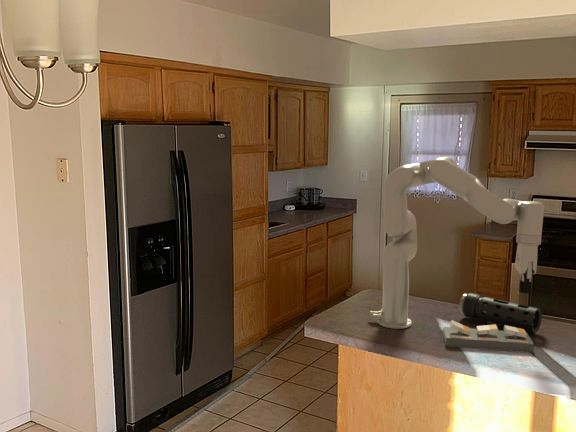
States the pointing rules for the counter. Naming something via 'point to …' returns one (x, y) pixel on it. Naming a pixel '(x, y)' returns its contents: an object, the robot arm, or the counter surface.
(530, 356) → the counter surface
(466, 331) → the switch left
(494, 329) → the switch middle
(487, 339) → the switch unit
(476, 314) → the muzzle brake
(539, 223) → the robot arm
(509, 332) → the switch right
